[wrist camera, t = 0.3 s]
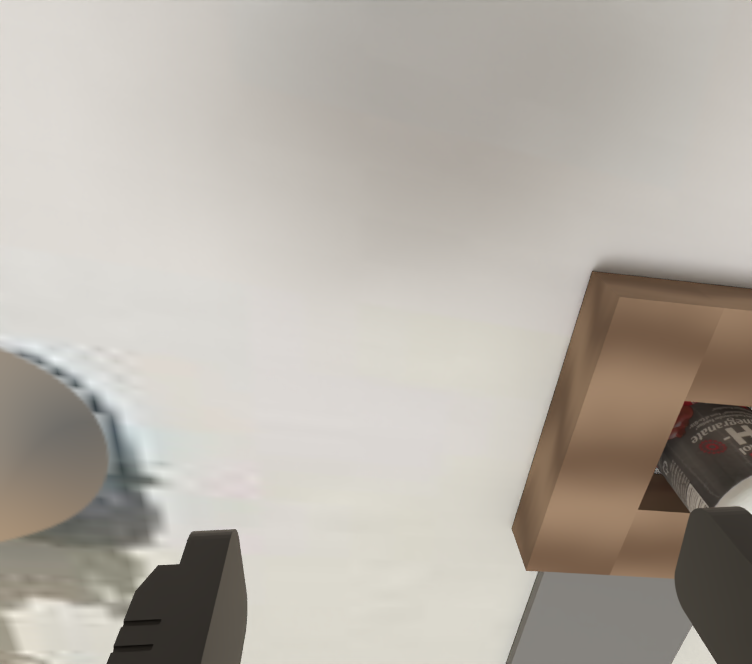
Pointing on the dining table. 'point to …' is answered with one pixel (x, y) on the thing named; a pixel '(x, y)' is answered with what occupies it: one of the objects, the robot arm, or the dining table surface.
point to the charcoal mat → (600, 621)
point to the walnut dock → (629, 423)
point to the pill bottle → (710, 456)
